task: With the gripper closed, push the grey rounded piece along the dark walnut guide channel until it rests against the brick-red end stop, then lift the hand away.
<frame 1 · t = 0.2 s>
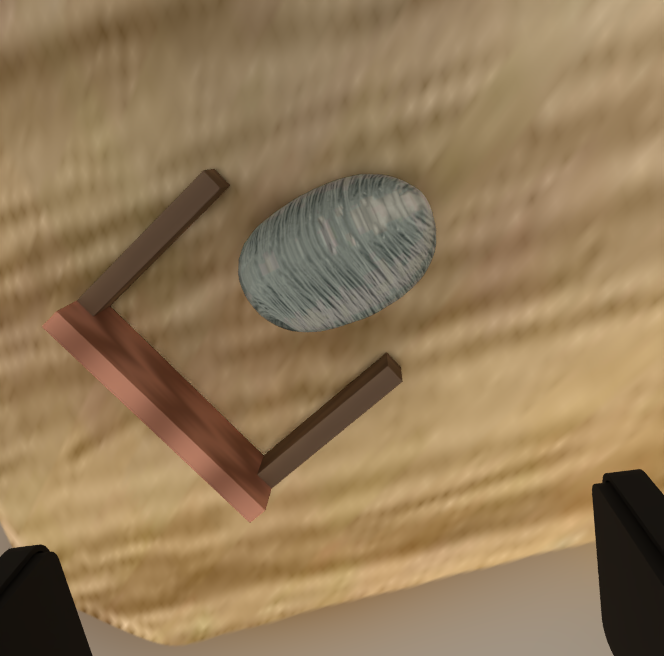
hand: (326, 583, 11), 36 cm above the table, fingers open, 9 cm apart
guide channel: (240, 335, 48), on the table
grey rounded piece: (340, 243, 46), on the table
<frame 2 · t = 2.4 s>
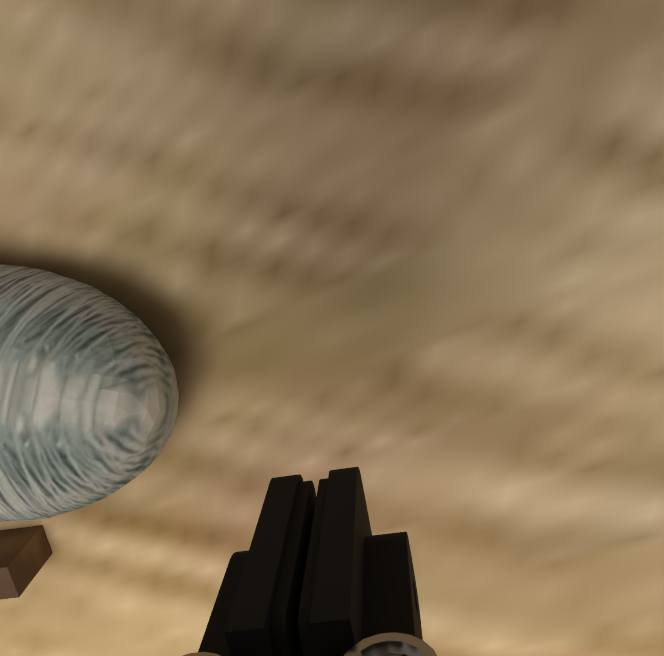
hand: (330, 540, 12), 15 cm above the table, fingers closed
grey rounded piece: (48, 350, 27), on the table
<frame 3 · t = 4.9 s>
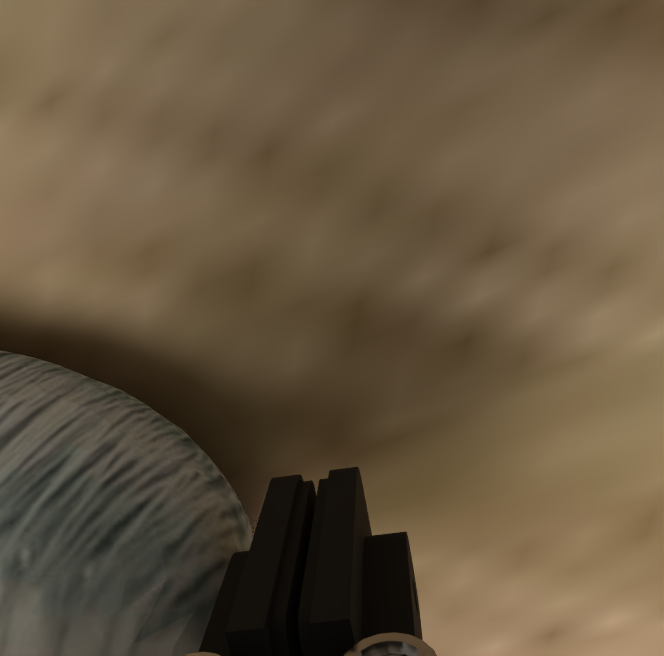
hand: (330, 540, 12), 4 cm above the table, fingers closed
grey rounded piece: (35, 470, 17), on the table, touching gripper
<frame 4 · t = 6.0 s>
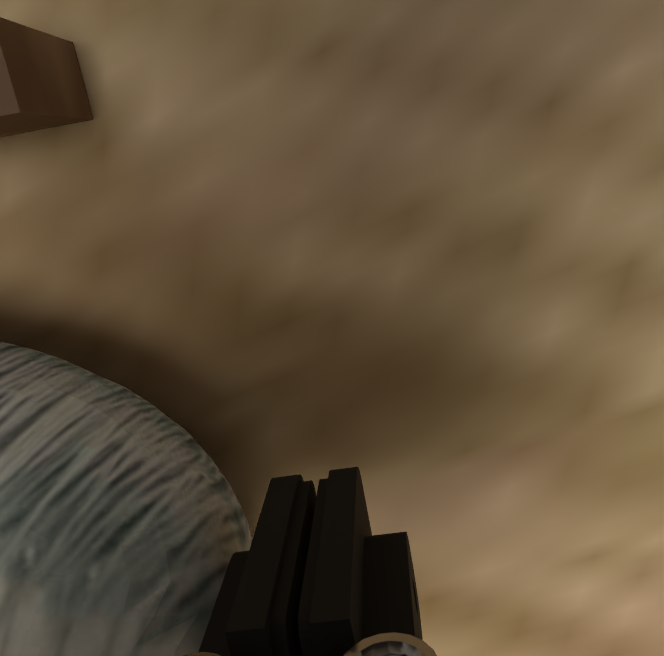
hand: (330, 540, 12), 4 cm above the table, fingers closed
grey rounded piece: (33, 463, 17), on the table, touching gripper
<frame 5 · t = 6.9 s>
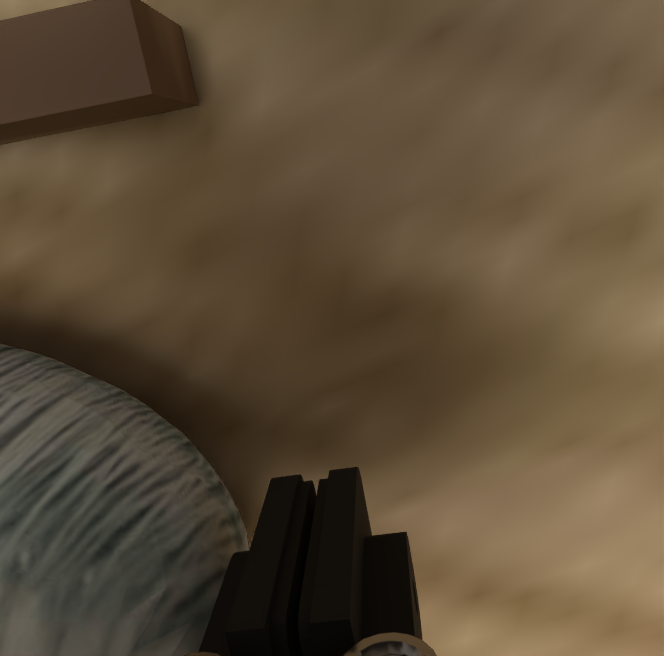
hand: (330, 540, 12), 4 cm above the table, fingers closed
guide channel: (2, 490, 17), on the table
grey rounded piece: (28, 465, 17), on the table, touching gripper, guide channel
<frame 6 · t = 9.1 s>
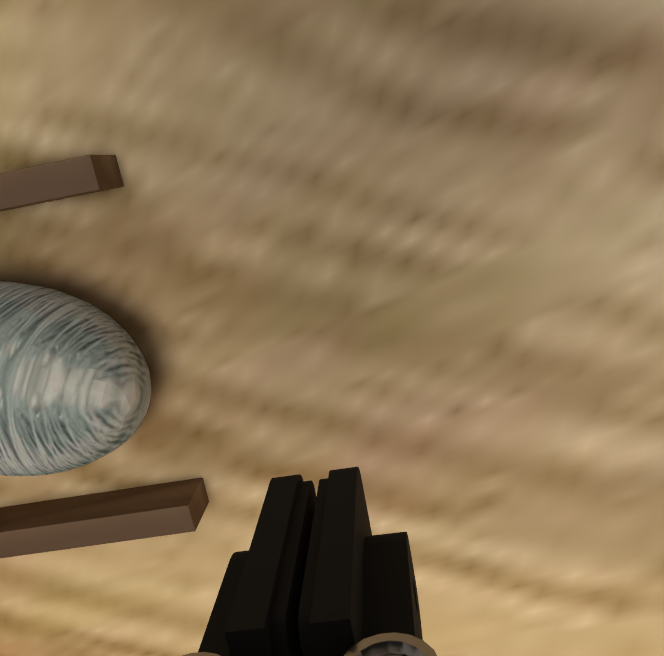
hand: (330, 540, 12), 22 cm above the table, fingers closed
guide channel: (39, 363, 35), on the table
grey rounded piece: (52, 350, 35), on the table
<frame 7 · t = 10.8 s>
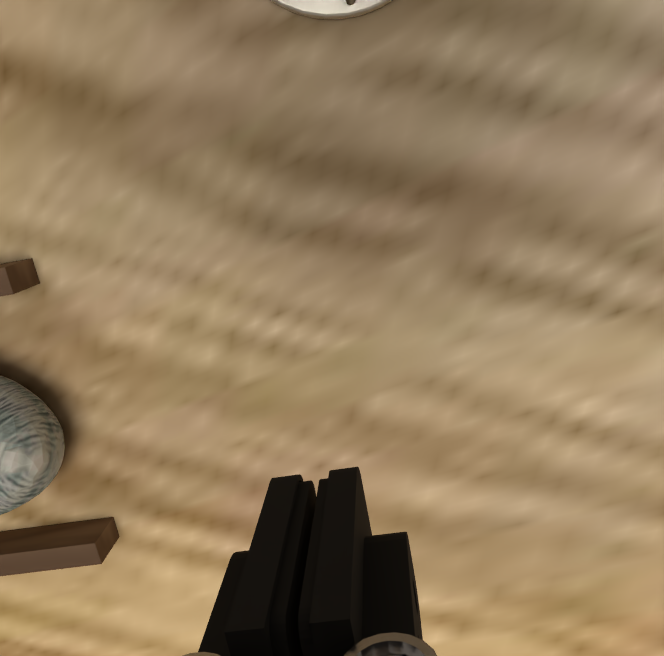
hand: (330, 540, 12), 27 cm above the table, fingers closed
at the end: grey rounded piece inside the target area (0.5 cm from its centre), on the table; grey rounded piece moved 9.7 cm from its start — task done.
